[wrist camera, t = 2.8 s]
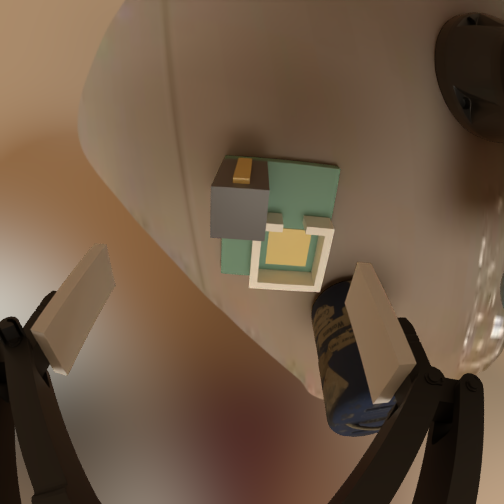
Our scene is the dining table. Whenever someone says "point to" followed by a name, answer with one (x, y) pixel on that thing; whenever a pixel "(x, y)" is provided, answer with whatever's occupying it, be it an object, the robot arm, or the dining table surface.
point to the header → (292, 254)
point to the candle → (344, 368)
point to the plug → (240, 200)
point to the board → (287, 209)
